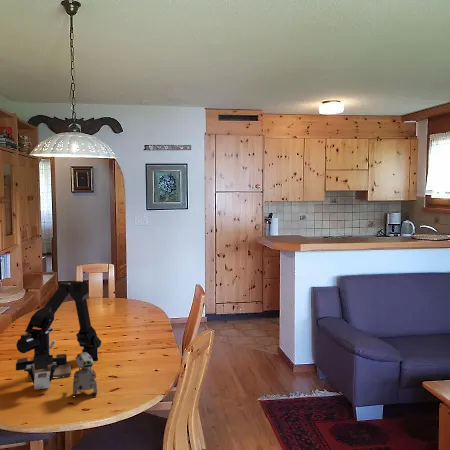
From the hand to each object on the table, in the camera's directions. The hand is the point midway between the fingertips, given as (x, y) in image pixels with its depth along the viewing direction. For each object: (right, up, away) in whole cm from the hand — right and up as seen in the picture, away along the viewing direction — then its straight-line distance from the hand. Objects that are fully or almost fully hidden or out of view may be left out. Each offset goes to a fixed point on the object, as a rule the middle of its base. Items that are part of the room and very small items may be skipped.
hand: (42, 382), depth 175 cm
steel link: (0, -1, 0) cm, 1 cm away
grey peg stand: (-2, -1, +14) cm, 14 cm away
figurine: (+19, -3, -5) cm, 20 cm away
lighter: (-11, 0, +33) cm, 35 cm away
